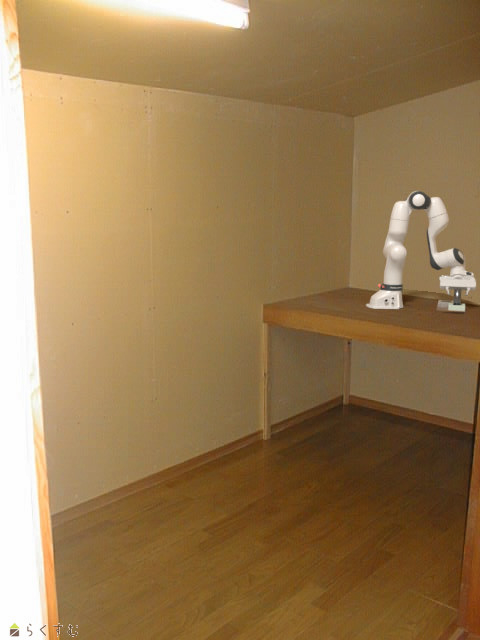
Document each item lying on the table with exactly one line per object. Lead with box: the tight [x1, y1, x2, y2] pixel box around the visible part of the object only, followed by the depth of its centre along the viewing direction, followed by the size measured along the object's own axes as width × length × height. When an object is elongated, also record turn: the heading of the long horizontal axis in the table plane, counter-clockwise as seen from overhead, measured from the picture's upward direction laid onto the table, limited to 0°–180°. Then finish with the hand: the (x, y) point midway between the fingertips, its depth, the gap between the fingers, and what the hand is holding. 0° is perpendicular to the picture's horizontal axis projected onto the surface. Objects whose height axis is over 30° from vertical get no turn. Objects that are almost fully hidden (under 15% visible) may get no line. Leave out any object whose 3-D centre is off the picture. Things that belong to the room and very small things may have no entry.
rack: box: [448, 303, 466, 312], centre depth 347 cm, size 9×9×3 cm
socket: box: [437, 299, 453, 307], centre depth 358 cm, size 9×9×3 cm
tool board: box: [436, 303, 467, 315], centre depth 353 cm, size 22×16×2 cm
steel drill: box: [452, 289, 463, 305], centre depth 346 cm, size 4×4×12 cm
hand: (457, 294), depth 345 cm, fingers open, 8 cm apart
